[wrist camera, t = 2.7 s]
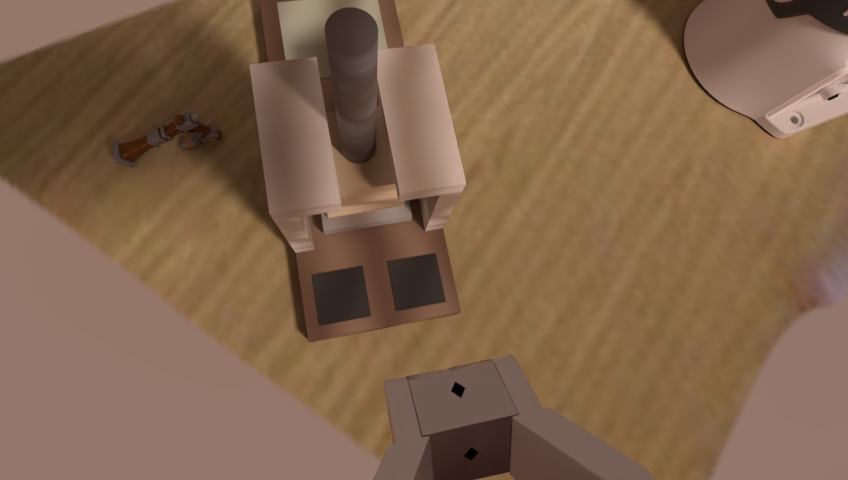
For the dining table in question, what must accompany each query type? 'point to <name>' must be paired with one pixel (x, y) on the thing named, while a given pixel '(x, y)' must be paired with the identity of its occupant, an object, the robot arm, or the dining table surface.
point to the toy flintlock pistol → (165, 138)
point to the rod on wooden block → (358, 128)
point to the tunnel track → (317, 182)
